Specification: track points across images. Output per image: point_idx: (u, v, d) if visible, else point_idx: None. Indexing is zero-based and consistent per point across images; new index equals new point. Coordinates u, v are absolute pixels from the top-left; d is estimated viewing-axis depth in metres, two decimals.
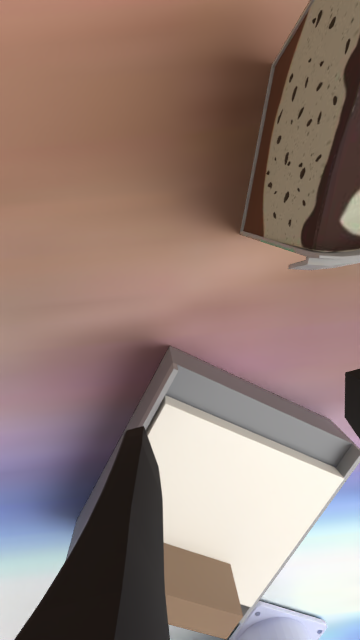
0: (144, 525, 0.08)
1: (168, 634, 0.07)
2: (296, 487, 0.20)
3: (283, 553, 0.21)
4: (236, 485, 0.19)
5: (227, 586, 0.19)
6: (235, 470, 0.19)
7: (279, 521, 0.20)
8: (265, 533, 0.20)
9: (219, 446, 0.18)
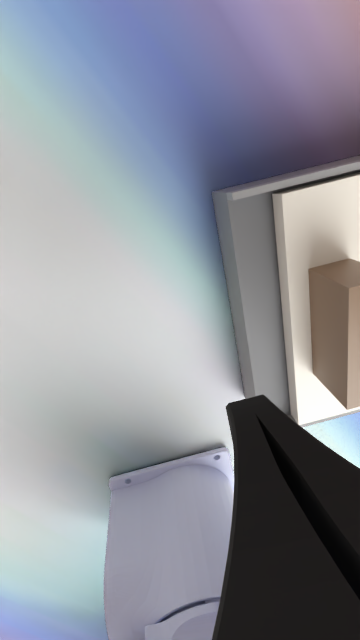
0: None
1: None
2: None
3: None
4: None
5: None
6: None
7: None
8: None
9: None
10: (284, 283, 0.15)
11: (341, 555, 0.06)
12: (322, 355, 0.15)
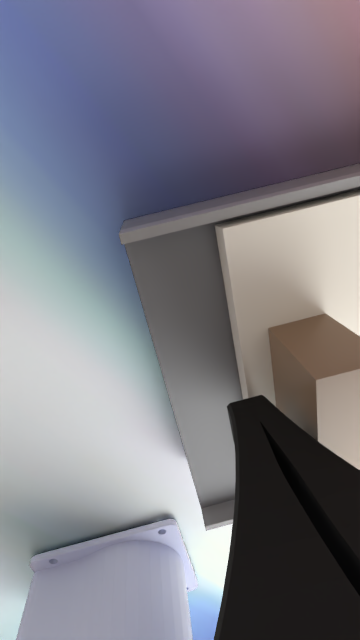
0: None
1: None
2: None
3: None
4: None
5: None
6: None
7: None
8: None
9: None
10: (237, 344, 0.11)
11: (339, 555, 0.06)
12: None
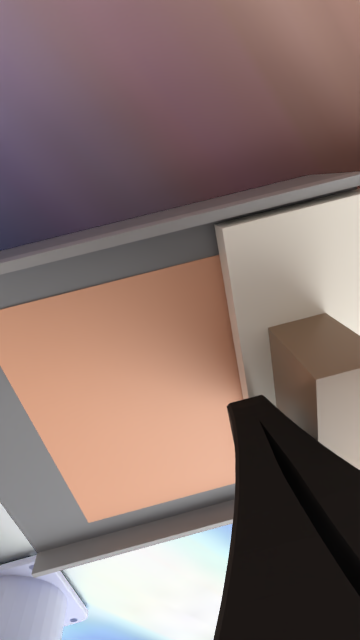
0: None
1: None
2: None
3: None
4: None
5: None
6: None
7: None
8: None
9: None
10: (237, 344, 0.11)
11: (339, 556, 0.06)
12: None
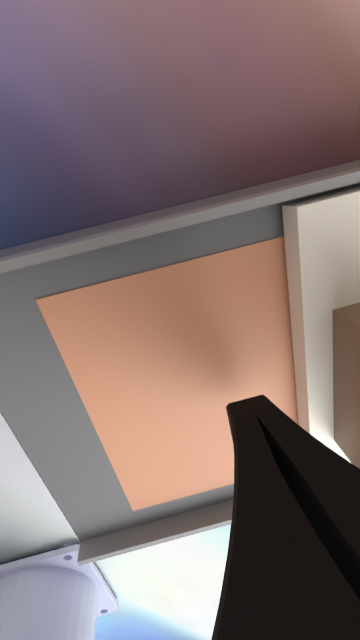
0: None
1: None
2: None
3: None
4: None
5: None
6: None
7: None
8: None
9: None
10: (298, 328, 0.11)
11: (341, 555, 0.06)
12: (351, 426, 0.11)
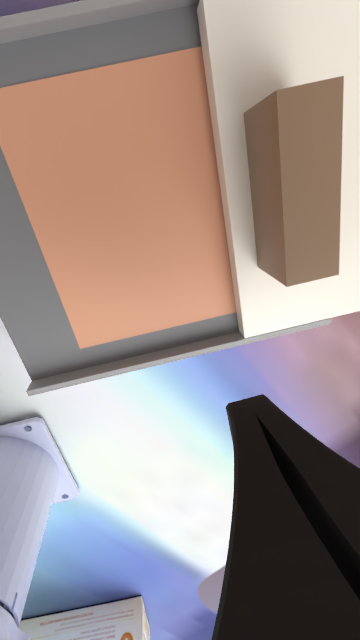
0: None
1: None
2: None
3: (342, 306, 0.15)
4: None
5: None
6: None
7: None
8: None
9: None
10: (217, 138, 0.12)
11: (341, 555, 0.06)
12: (263, 230, 0.12)
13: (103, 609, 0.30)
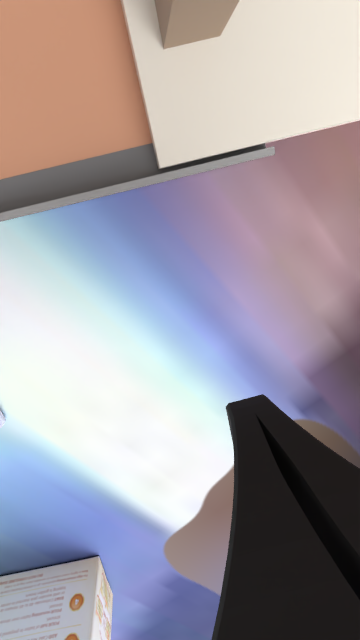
0: None
1: None
2: None
3: (286, 123, 0.12)
4: None
5: None
6: None
7: (342, 54, 0.11)
8: (309, 49, 0.11)
9: None
10: None
11: (341, 555, 0.06)
12: None
13: (54, 570, 0.27)
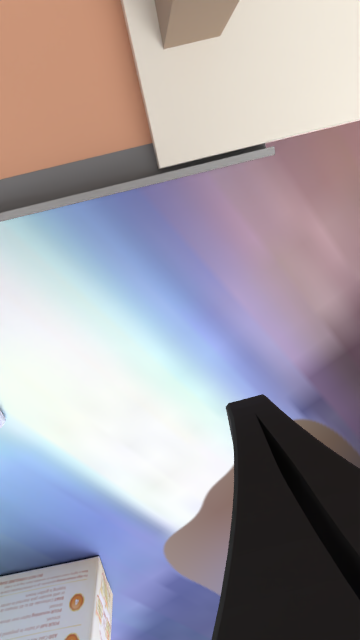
0: None
1: None
2: None
3: (286, 123, 0.12)
4: None
5: None
6: None
7: (342, 54, 0.11)
8: (309, 49, 0.11)
9: None
10: None
11: (341, 555, 0.06)
12: None
13: (54, 570, 0.27)
